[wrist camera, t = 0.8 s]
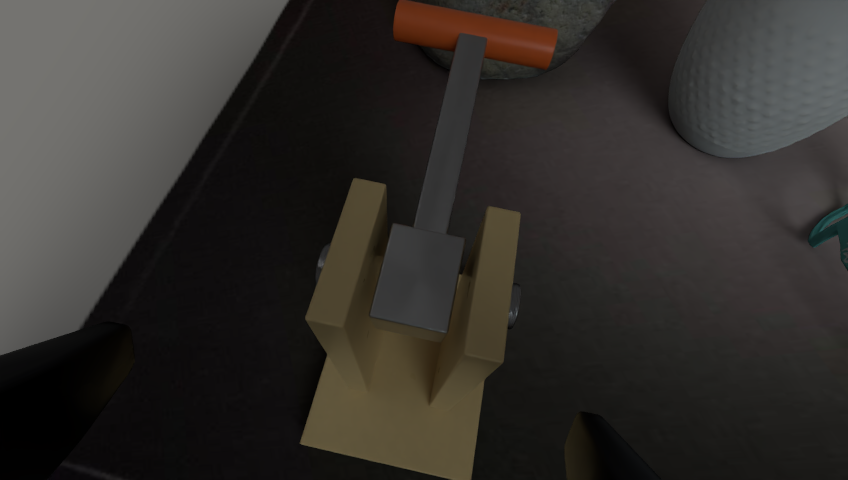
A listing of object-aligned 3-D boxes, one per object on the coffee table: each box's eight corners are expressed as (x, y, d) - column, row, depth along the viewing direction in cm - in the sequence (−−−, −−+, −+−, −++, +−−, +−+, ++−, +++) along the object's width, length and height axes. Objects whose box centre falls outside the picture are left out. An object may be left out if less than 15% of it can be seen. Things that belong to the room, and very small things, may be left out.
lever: (402, 30, 18) (401, -22, 16) (544, 58, 18) (564, 9, 15) (317, 315, 14) (299, 301, 12) (500, 356, 14) (518, 349, 11)
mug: (727, 38, 37) (880, -156, 25) (843, 121, 33) (1086, -61, 22) (609, 106, 32) (730, -93, 21) (728, 211, 29) (957, 41, 17)
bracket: (360, 260, 25) (332, 98, 14) (493, 289, 25) (576, 147, 14) (304, 444, 21) (194, 426, 9) (466, 482, 20) (558, 512, 9)
